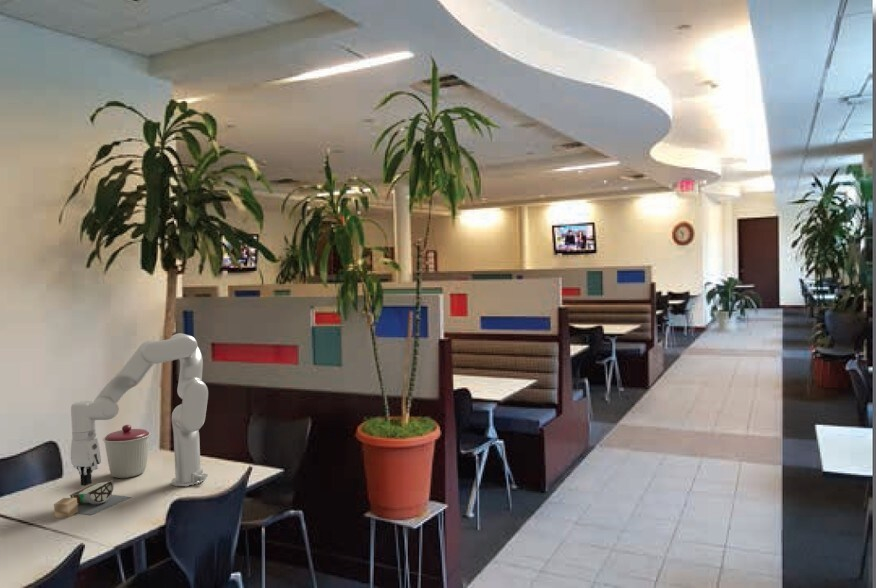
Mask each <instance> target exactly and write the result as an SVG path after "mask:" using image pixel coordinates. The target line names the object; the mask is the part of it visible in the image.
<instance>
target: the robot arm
mask: <svg viewBox="0 0 876 588" xmlns="http://www.w3.org/2000/svg"><path fill="white" fill-rule="evenodd" d="M203 359H204V358H203V355H202V351H201V349H200V347H199V346H198V341H197V340H196V338H195V337H194V336H192V335H190V334H185V333H181V332H180V333H175V334H173V335H172V336H171V337H170V338H169V339H163V340H154V339H153V340H152V339H147V340H145V341H143V343H141V344H140V345H139V346H138V348H137V349H136V350H135V351H134V353H133V354H132V356H131V357H130V358H129V360H128V361H127V362H126V363H125V364H124V366H123V367H122V368H121V369H120V371H118V373H116V374H115V375H114V377H112V378H111V380H110V381H108V383H107V384H106V385H105V386H104V387H103V388H102V389H101V391H100V392H99V393H98V394H97V395H96V397H95V398H94V401H90V400H81V401H76V402H74V403H72V404H71V405H70V415H71V416H70V418H71V421H70V422H71V438H72V439H71V445H70V463H71V465H72V467H73V468H74V469H75V470H77V472H78V474H79V476H80V486H84V487H87V486H89V485H91V484H92V473H93V471H95V470H98V469H99V466H98V465H100V464H101V463H102V462H101V461H102V459H101V458H102V457H101V449H100V443H99V440H98V438H97V437H96V435H97V433H96V421H106V420H107V421H108V420H112V419H114V418H115V417H117V415H118V414H119V411H120V408H119V404H118V402H119V401H120V400H121V398H122V397H123V396H124V395H125V394H126V393H127V392H128V391H130V390H131V389H132V388H134V387H136V386H138V385H140V384H141V383H142V381H143V380H144V379H145V377H146V376H147V374H148V373H149V372H150V371H151V370H152V368H153V367H154V366H155V364H163V363H168V362H172V361H176V360H179V366H180V367H179V377H178V383H177V389H176V390H177V391H176V392H177V395H178V397H179V398H180V399H181V400H182V401H181V403H180V404H179V405H177V406H176V407H175V408H174V409H173V411H172V413H171V426H172V431H173V447H174V448H173V451H174V474H175V476H174V477H175V478H173V479H172V480H171V481H170V482H171V483H170V484H171V485H172V486H173V485H174V487H177V486H185V487H190V486H189V485H192V486H195V485H194V484H196V485H199V484H201V483H203V482H204V481H205V480H207V477H208V473H204V472H203V471H204V470H203V469H202V468H201V449H200V448H201V446H200V441H201V440H200V432H199V431H200V429H201V428H202V427H203V426H204V423H205V421H206V416H207V415H206V414H207V410H208V409H207V408H208V407H207V406H208V400H209V388H208V386H207V385H206V383H205V382H204V381H202V380H203V368H204V361H203ZM202 481H203V482H202ZM200 482H201V483H200ZM198 483H199V484H198Z"/></svg>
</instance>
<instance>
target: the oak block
mask: <svg viewBox="0 0 876 588" xmlns="http://www.w3.org/2000/svg"><path fill="white" fill-rule="evenodd" d="M78 506H79V503H77V498H71V497H63V498H61V499H60V500H58V501H56V502H55V503H54V504H53V509H54V516H55V518H65V519H67V518H70V517H72V516H74V515H75V514H77V512H78Z"/></svg>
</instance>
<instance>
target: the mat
mask: <svg viewBox="0 0 876 588" xmlns="http://www.w3.org/2000/svg"><path fill="white" fill-rule="evenodd" d="M131 498H133V497H132V496H126V495H117V494H111V496H110V497H109V499H108V500H106V501H105V502H103V503H101V504H98V505H92V504H90V503H84V504H78V512H77V513H76V514H77V515H83V516H84V515H85V516H92V515H95V514H97V513H100V512H102V511H104V510H106V509H108V508H112V507H113V506H116V505H118V504H121V503H122V502H125V501H127V500H130V499H131Z"/></svg>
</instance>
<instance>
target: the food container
mask: <svg viewBox="0 0 876 588" xmlns="http://www.w3.org/2000/svg"><path fill="white" fill-rule="evenodd" d="M114 483H115V482H114V480H108V481H103V482H98V483H91V484H88V485H86V486H84V487H83V488H81V489H79V490H77V491H75V492H73V493H72V494H70V495H69V496H70V497H69V498H77V504H78V505H82V504H84V503H90V504H92V505H98V504H101V503H103V502H105V501H106V500H108V499H109V497H110V496H111V495H113V492H114V489H115V488H114Z"/></svg>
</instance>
